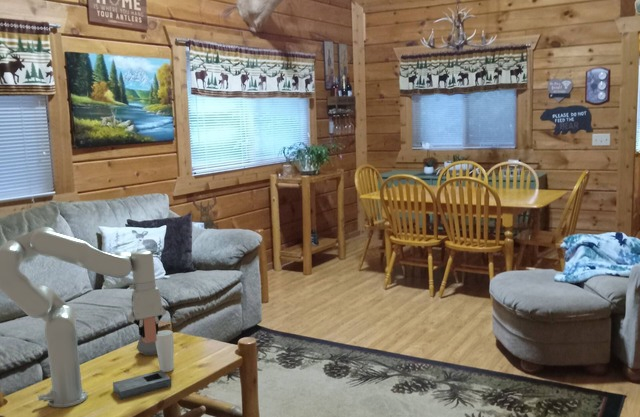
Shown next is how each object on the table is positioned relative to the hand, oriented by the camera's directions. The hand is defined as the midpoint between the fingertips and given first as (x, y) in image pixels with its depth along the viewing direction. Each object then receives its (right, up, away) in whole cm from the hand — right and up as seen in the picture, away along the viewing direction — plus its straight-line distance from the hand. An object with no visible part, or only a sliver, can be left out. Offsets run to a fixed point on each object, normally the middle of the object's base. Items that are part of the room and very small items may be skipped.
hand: (149, 334), depth 224 cm
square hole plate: (-3, -20, 0) cm, 20 cm away
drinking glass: (+2, -17, +17) cm, 24 cm away
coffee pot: (-6, -15, +34) cm, 38 cm away
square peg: (0, -2, 0) cm, 2 cm away
